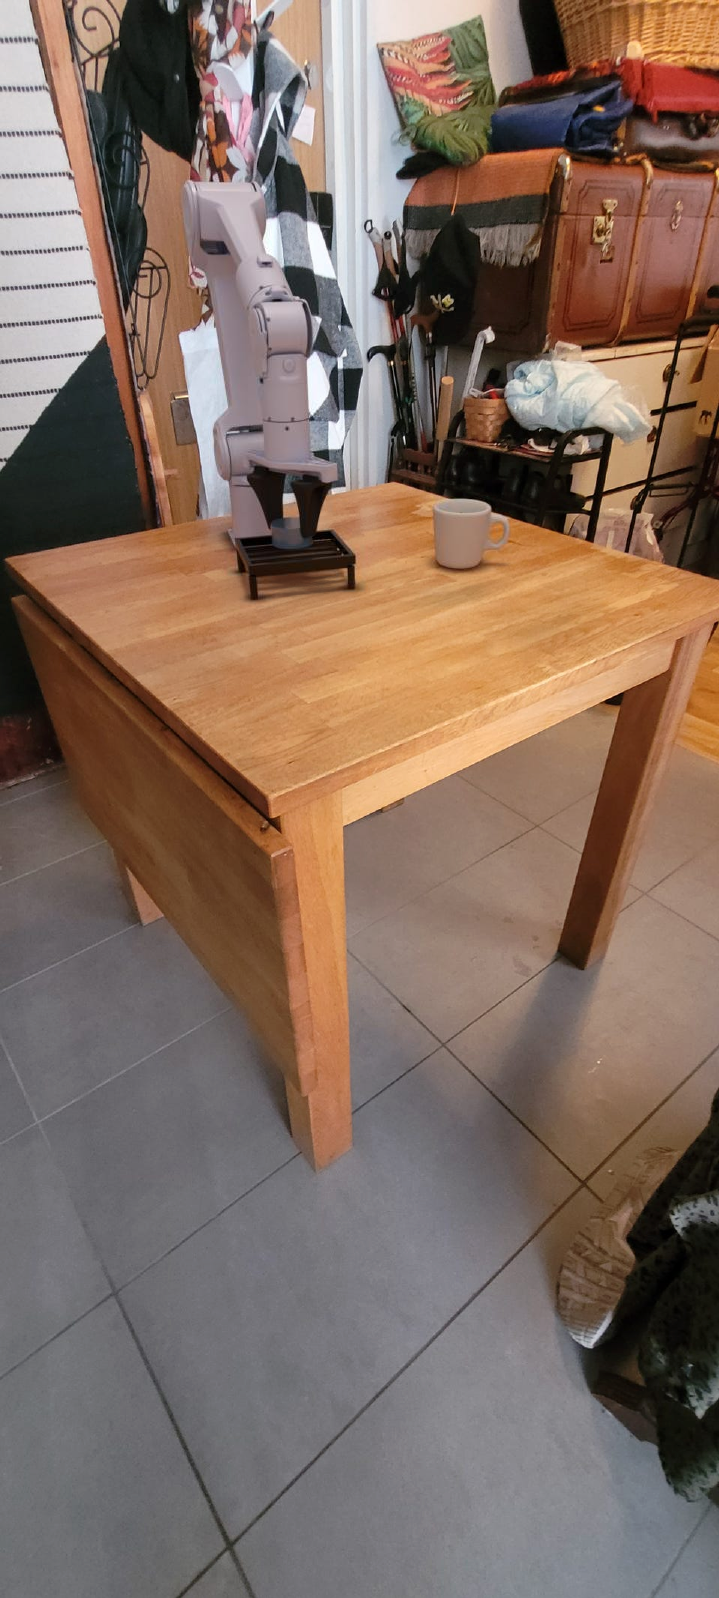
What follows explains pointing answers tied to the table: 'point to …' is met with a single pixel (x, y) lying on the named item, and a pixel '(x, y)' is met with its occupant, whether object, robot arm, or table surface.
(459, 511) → the cup
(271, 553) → the rack
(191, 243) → the robot arm
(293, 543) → the glossy blue puck
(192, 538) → the table surface
